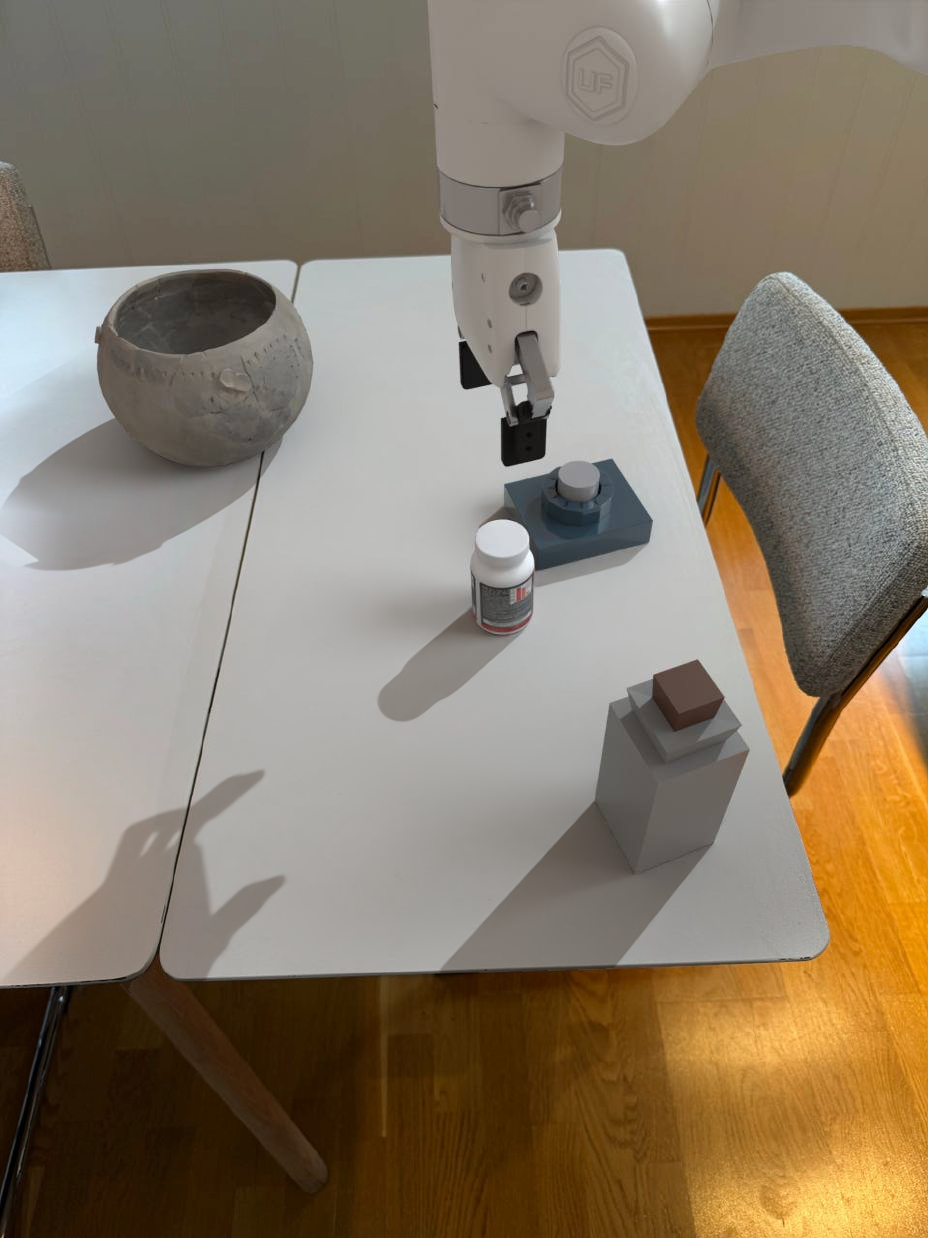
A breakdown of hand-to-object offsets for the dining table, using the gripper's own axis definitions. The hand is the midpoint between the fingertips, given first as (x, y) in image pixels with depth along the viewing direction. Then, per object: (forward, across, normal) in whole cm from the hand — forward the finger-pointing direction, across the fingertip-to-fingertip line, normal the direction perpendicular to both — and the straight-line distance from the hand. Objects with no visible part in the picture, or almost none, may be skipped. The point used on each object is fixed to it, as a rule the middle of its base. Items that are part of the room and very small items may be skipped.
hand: (501, 420), depth 68 cm
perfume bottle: (+22, -24, -4) cm, 33 cm away
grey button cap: (+18, +9, -11) cm, 23 cm away
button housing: (+22, +9, -11) cm, 26 cm away
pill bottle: (+22, 0, 0) cm, 23 cm away
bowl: (+22, +38, +21) cm, 49 cm away
